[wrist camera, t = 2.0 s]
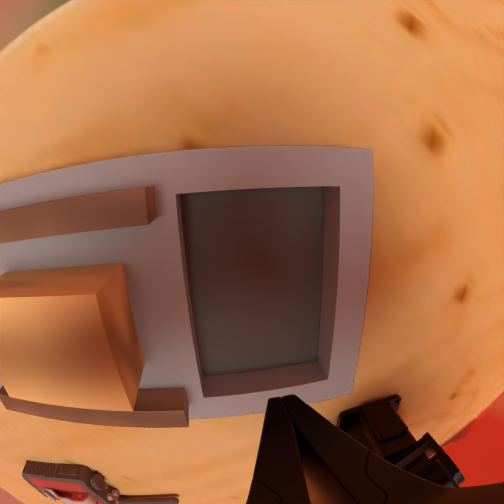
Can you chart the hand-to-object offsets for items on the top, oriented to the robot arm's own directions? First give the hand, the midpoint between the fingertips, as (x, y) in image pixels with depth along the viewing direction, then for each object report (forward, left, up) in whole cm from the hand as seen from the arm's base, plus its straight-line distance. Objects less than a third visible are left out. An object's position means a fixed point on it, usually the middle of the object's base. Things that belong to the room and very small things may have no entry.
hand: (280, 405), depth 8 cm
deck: (0, +11, -10) cm, 15 cm away
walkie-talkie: (-24, +19, -10) cm, 32 cm away
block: (0, +10, -7) cm, 12 cm away
